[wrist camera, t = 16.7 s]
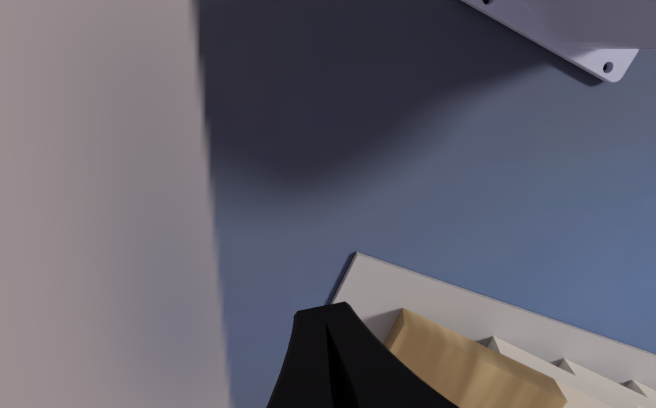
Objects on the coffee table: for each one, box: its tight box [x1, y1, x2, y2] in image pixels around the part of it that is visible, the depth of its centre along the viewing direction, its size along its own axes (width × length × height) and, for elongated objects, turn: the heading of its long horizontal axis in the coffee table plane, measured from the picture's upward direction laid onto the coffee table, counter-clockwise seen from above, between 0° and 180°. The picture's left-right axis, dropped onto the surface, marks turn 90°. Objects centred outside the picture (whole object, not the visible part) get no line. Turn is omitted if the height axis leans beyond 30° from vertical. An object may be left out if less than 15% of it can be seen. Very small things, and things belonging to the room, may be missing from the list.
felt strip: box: [331, 252, 656, 390], centre depth 27 cm, size 32×9×1 cm, turn 66°
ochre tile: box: [383, 308, 568, 408], centre depth 23 cm, size 2×5×9 cm
